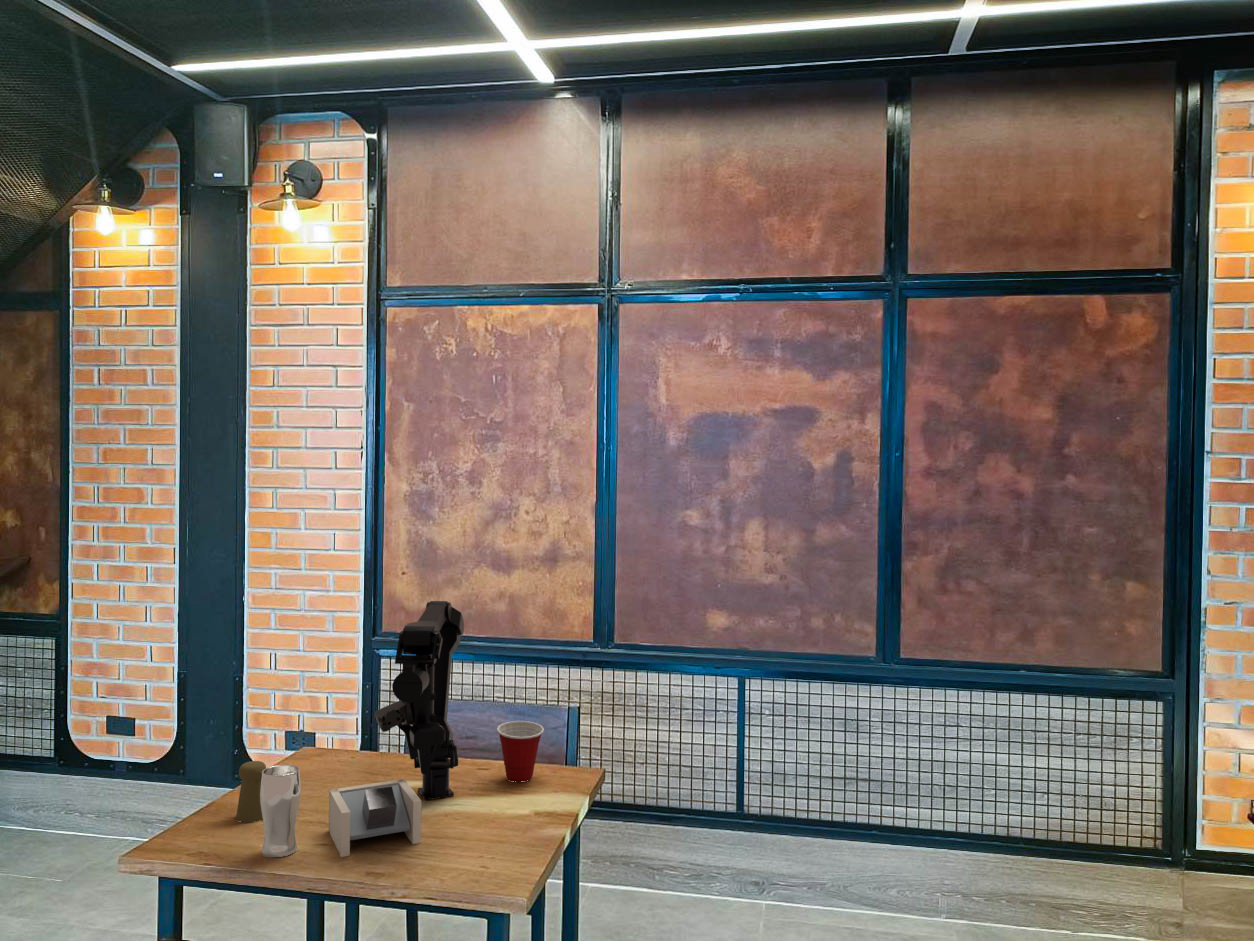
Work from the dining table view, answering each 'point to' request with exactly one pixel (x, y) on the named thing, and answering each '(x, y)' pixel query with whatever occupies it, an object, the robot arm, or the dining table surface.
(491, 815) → the dining table surface
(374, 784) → the white step stool
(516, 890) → the dining table surface
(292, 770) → the beer glass
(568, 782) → the dining table surface
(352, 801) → the trapdoor
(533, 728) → the plastic cup
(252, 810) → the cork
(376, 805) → the block
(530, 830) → the dining table surface
